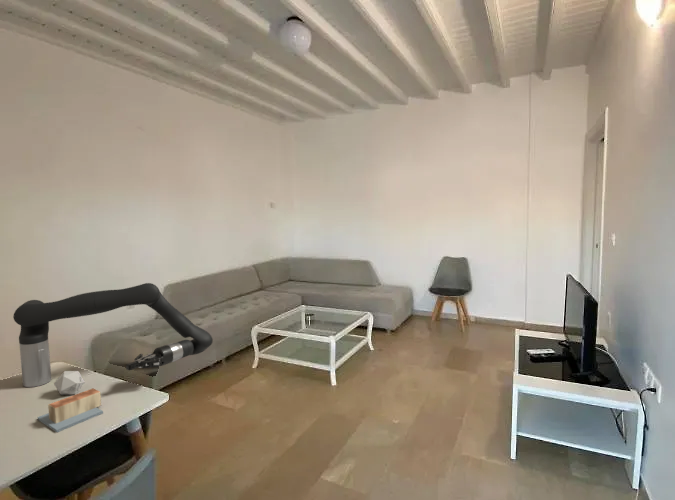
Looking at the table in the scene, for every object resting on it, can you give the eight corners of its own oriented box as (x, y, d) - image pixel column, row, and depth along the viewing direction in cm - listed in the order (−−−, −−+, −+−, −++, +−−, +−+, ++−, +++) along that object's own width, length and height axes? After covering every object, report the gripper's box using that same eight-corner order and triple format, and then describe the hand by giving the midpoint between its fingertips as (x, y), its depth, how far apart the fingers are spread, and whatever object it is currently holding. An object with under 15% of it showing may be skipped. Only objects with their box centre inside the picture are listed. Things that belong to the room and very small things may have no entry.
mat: (37, 419, 132) (37, 417, 132) (83, 402, 144) (82, 400, 144) (56, 432, 125) (56, 430, 124) (103, 413, 136) (102, 410, 136)
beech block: (94, 401, 143) (49, 418, 131) (93, 388, 142) (48, 404, 130) (101, 405, 140) (56, 423, 128) (100, 391, 139) (55, 408, 128)
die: (62, 402, 145) (80, 378, 147) (43, 389, 146) (62, 364, 148) (76, 400, 153) (94, 376, 155) (59, 387, 154) (76, 364, 157)
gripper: (158, 341, 167) (117, 354, 153) (178, 348, 160) (136, 361, 146) (159, 359, 168) (118, 373, 154) (178, 366, 161) (137, 381, 147)
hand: (127, 367), depth 150 cm, fingers closed
